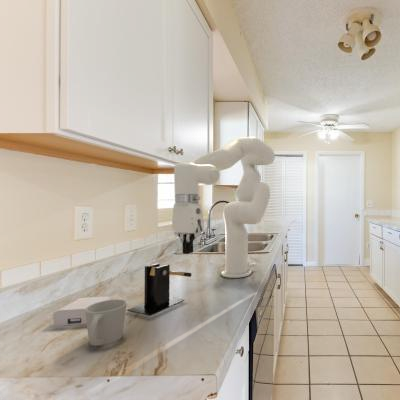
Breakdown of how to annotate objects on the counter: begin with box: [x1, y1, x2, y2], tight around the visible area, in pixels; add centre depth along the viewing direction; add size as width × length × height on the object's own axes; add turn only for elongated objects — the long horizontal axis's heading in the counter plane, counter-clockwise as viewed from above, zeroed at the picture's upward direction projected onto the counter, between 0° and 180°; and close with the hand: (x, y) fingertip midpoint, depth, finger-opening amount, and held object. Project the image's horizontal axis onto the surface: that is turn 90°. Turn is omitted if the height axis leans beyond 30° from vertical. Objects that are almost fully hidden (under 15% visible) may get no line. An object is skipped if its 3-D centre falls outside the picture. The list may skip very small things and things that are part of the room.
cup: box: [85, 298, 127, 347], centre depth 60 cm, size 8×10×8 cm
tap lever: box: [150, 267, 192, 278], centre depth 85 cm, size 13×5×2 cm, turn 158°
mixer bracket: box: [126, 262, 185, 317], centre depth 80 cm, size 12×9×13 cm
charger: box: [53, 295, 114, 327], centre depth 75 cm, size 5×9×15 cm
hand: (188, 253), depth 93 cm, fingers closed
